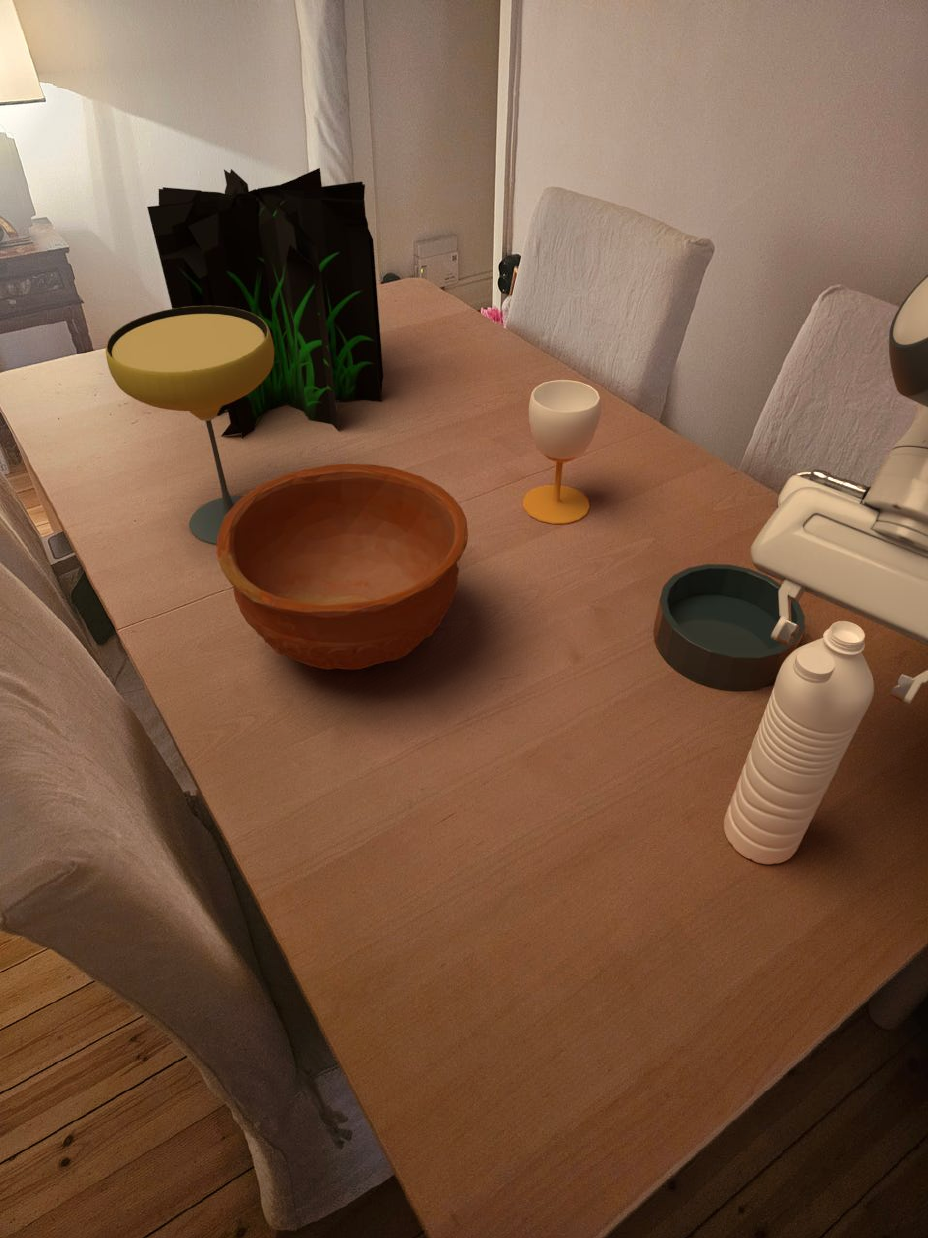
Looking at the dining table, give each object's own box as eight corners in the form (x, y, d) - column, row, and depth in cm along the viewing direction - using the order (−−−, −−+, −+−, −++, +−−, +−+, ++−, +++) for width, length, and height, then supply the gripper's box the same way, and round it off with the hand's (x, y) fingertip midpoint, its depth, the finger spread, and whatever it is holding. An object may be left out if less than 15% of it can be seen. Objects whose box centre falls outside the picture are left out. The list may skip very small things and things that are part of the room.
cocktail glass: (263, 468, 117) (229, 292, 101) (325, 528, 107) (299, 344, 90) (140, 511, 110) (81, 329, 93) (193, 582, 99) (138, 390, 82)
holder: (812, 632, 92) (825, 599, 89) (758, 713, 84) (771, 679, 80) (690, 580, 99) (698, 547, 96) (629, 650, 90) (635, 616, 87)
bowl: (203, 626, 93) (171, 518, 83) (382, 539, 105) (373, 436, 95) (322, 760, 79) (301, 650, 69) (513, 643, 91) (519, 535, 81)
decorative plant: (202, 363, 142) (158, 172, 122) (374, 349, 146) (359, 161, 126) (192, 449, 121) (137, 235, 101) (393, 430, 125) (379, 221, 105)
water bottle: (748, 790, 77) (829, 586, 60) (812, 835, 73) (916, 632, 56) (693, 846, 72) (762, 643, 55) (757, 896, 69) (852, 696, 52)
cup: (552, 533, 106) (562, 421, 95) (508, 500, 111) (513, 391, 101) (603, 509, 110) (618, 399, 99) (559, 478, 115) (568, 371, 104)
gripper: (793, 448, 64) (707, 604, 65) (1086, 553, 54) (979, 735, 56) (801, 473, 70) (722, 616, 71) (1069, 572, 60) (972, 737, 61)
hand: (837, 670), depth 63 cm, fingers open, 8 cm apart
